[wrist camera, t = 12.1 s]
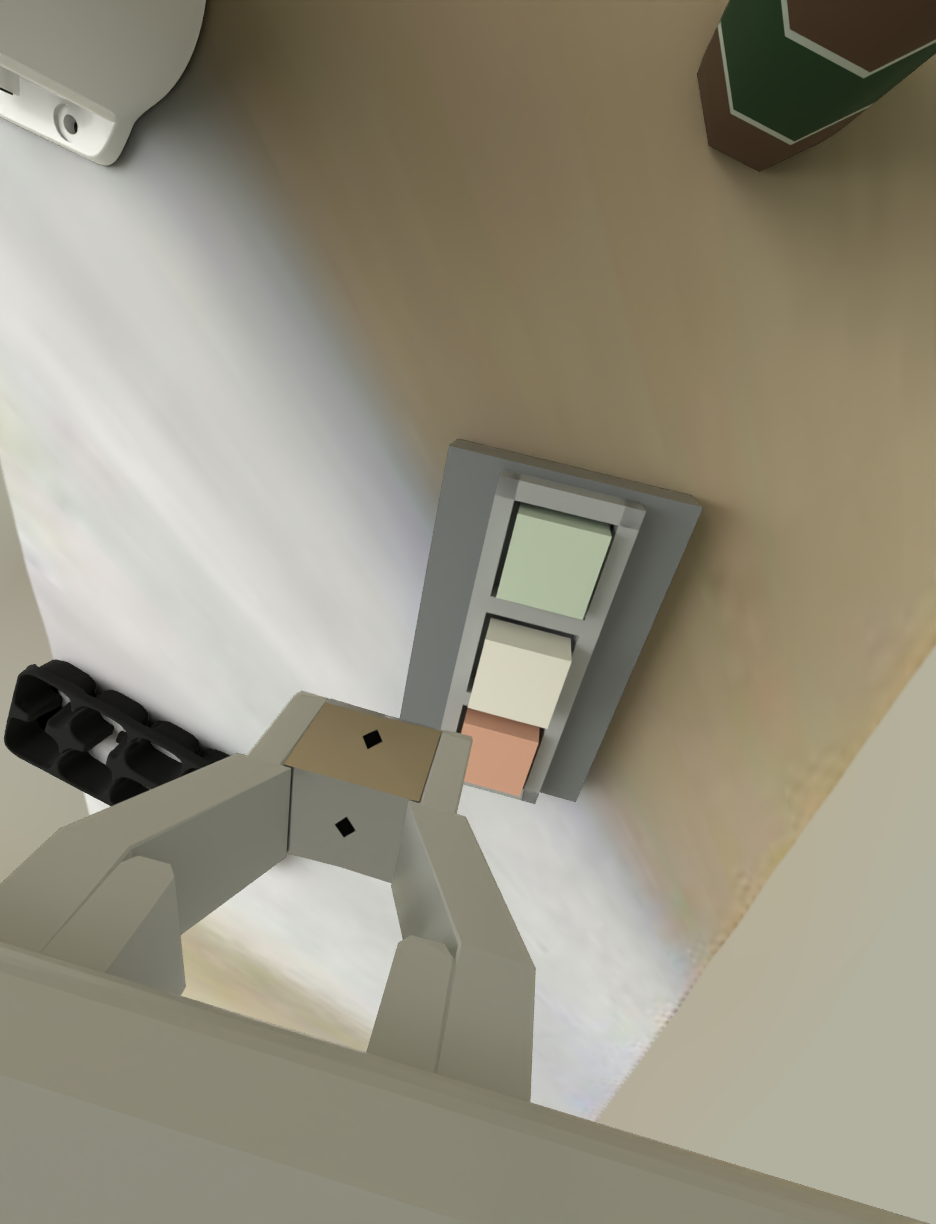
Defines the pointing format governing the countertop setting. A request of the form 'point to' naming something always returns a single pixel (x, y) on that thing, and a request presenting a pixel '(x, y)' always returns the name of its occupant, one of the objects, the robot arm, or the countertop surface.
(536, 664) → the cream key
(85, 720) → the egg carton
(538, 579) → the sage key
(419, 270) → the countertop surface
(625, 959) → the countertop surface
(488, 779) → the terracotta key
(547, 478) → the keypad
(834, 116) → the beer bottle
